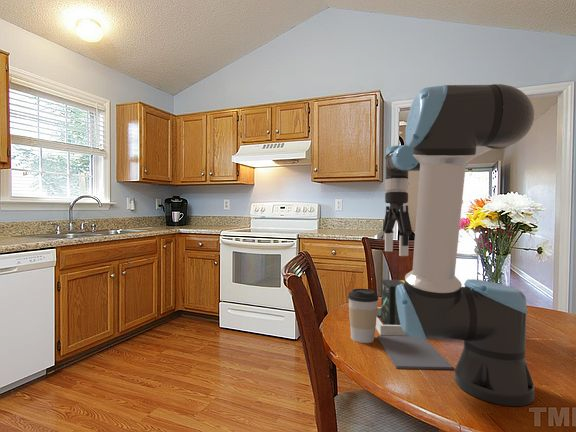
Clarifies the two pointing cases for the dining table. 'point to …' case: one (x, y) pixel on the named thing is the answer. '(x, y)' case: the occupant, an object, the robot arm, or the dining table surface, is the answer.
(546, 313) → the dining table surface
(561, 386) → the dining table surface
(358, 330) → the coffee cup
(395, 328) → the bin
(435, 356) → the thin grey tile
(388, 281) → the tampon box
